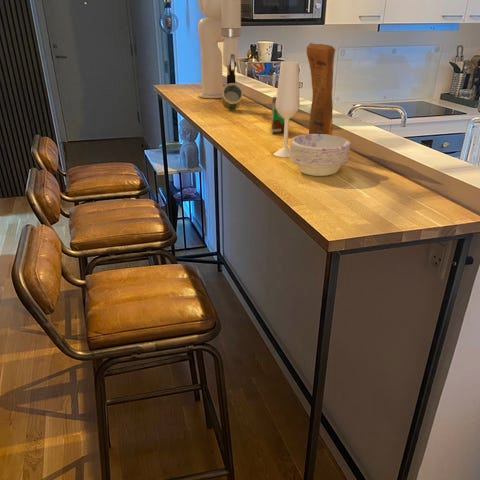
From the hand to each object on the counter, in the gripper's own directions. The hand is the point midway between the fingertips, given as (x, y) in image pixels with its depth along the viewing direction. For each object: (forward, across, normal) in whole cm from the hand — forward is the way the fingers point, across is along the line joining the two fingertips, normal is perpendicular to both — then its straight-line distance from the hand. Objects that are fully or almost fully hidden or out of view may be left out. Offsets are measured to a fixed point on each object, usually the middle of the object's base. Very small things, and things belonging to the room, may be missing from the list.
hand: (231, 85), depth 202 cm
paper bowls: (+9, +92, +12) cm, 93 cm away
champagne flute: (+9, +74, +7) cm, 74 cm away
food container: (+9, +44, +12) cm, 46 cm away
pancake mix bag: (+9, +68, +18) cm, 71 cm away
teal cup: (+5, 0, 0) cm, 5 cm away
